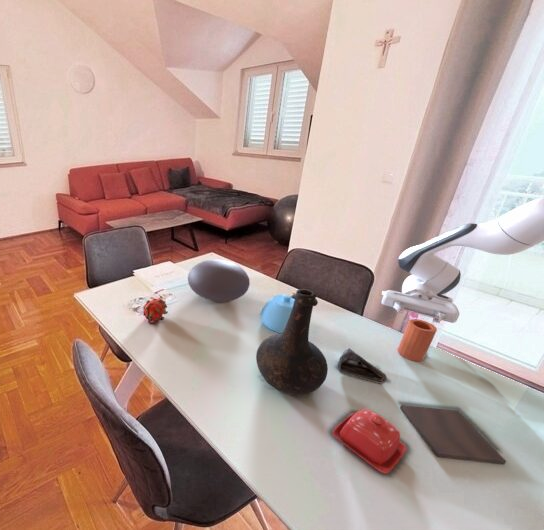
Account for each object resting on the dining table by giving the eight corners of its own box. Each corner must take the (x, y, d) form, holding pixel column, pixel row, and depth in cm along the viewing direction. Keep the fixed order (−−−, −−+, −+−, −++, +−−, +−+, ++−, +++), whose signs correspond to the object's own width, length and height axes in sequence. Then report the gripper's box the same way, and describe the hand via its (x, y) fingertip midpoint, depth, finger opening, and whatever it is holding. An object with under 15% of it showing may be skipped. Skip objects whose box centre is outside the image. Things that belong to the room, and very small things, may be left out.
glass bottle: (285, 414, 77) (309, 320, 66) (240, 367, 93) (253, 283, 81) (337, 394, 84) (367, 303, 72) (286, 352, 99) (305, 272, 87)
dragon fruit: (163, 313, 122) (150, 334, 113) (146, 299, 122) (132, 318, 113) (175, 302, 117) (163, 323, 108) (157, 288, 117) (144, 307, 108)
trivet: (456, 413, 78) (458, 410, 77) (504, 464, 66) (506, 461, 66) (399, 407, 79) (401, 404, 79) (436, 456, 68) (438, 453, 67)
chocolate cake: (382, 370, 92) (356, 335, 94) (390, 380, 86) (361, 343, 87) (350, 384, 96) (326, 349, 98) (355, 394, 89) (329, 358, 91)
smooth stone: (238, 318, 117) (243, 282, 111) (177, 300, 128) (178, 267, 122) (253, 290, 136) (258, 259, 130) (199, 277, 148) (201, 248, 142)
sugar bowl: (252, 325, 112) (257, 297, 108) (268, 308, 123) (273, 282, 118) (296, 342, 103) (303, 312, 99) (309, 322, 114) (316, 294, 109)
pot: (417, 349, 100) (429, 320, 95) (427, 363, 94) (441, 333, 90) (393, 346, 102) (405, 317, 97) (403, 359, 96) (415, 329, 91)
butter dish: (408, 451, 69) (421, 423, 65) (384, 480, 63) (398, 452, 60) (353, 414, 78) (362, 388, 74) (327, 437, 72) (336, 410, 68)
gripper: (385, 282, 117) (383, 297, 107) (458, 299, 106) (464, 317, 96) (379, 297, 120) (377, 313, 110) (451, 315, 108) (455, 334, 98)
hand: (418, 315), depth 103 cm, fingers open, 8 cm apart
